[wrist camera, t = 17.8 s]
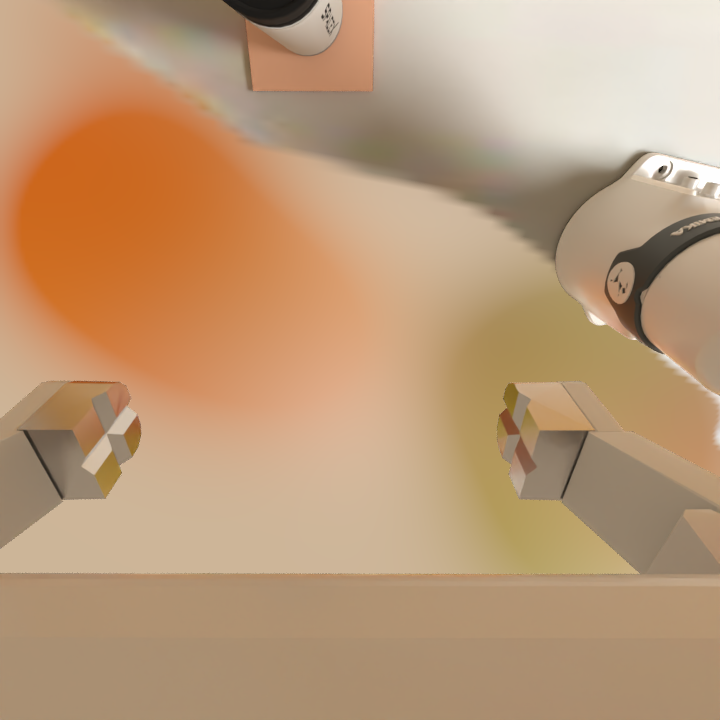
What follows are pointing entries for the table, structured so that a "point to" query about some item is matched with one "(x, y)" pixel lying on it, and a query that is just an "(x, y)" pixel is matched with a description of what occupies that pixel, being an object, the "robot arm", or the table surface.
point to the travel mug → (295, 22)
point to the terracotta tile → (318, 57)
